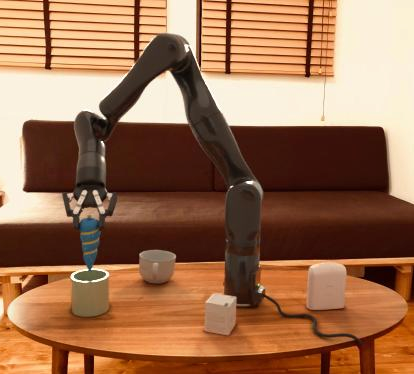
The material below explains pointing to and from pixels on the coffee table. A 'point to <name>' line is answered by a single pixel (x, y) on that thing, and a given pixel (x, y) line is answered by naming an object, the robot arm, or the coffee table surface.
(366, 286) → the coffee table surface
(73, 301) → the green cup
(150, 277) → the teacup
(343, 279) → the photo printer
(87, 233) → the ornament
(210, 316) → the product carton
